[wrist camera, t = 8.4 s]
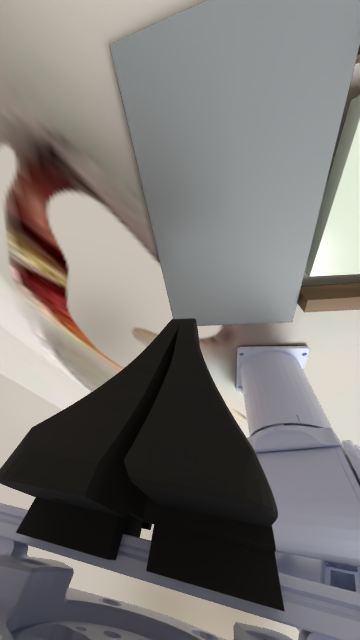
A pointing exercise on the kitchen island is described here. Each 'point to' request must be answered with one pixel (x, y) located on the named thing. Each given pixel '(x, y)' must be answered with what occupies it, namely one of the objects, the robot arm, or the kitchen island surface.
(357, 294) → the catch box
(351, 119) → the tile
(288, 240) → the raised plate
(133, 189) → the kitchen island surface
